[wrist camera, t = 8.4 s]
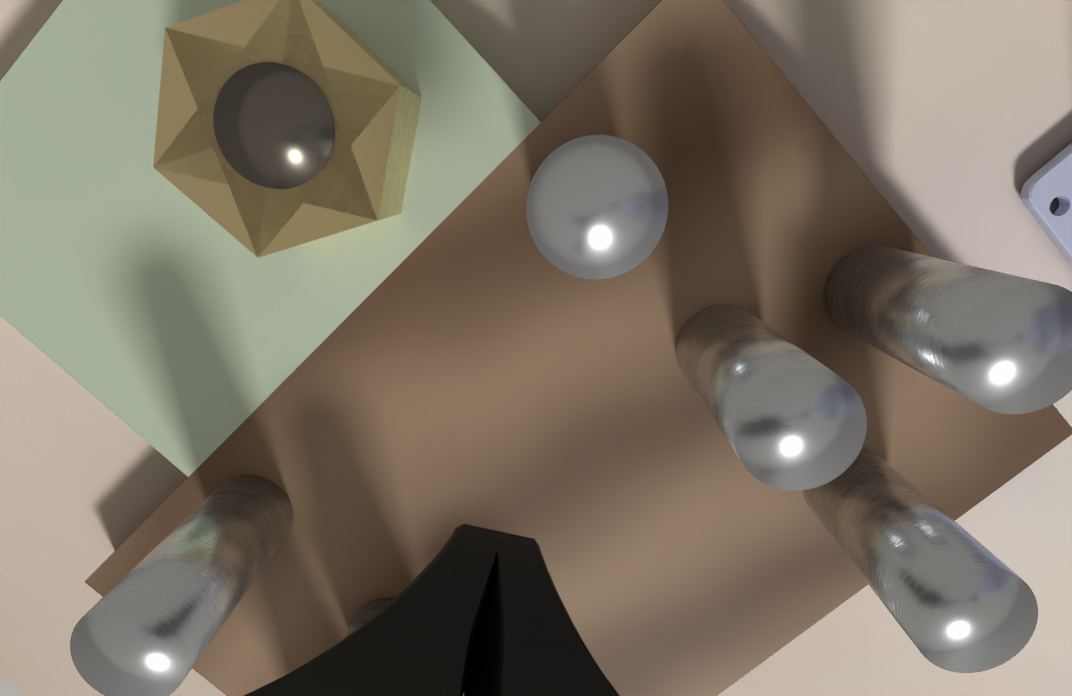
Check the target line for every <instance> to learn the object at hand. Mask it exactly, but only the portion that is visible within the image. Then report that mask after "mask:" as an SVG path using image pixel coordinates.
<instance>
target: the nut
mask: <svg viewBox="0 0 1072 696" xmlns="http://www.w3.org/2000/svg"><path fill="white" fill-rule="evenodd" d="M421 101H422V97H421V96H420V95H419V94H418V93H417V92H416V91H414V90H413V89H412V88H411V87H410V86H409V85H408V84H407V83H406V82H405V81H404V80H403V79H402V78H401V77H400V76H399V75H398V74H397V73H396V72H395V71H394V70H393V69H392V68H391V67H389V66H388V65H387V64H386V63H385V62H384V61H383V60H382V59H381V58H380V57H379V56H378V55H377V54H376V53H375V52H374V51H373V50H372V49H371V48H370V47H369V46H368V45H367V44H365V43H364V42H363V41H362V40H361V39H360V38H359V37H358V36H357V35H356V34H355V33H354V32H353V31H352V30H351V29H350V28H349V27H348V26H347V25H346V24H345V23H344V22H343V21H341V20H340V19H339V18H338V17H337V16H336V15H335V14H334V13H333V12H332V11H331V10H330V9H328V8H327V7H326V6H324V5H323V4H321V3H320V2H319V1H317V0H243V1H240V2H237V3H234V4H231V5H228V6H226V7H223V8H220V9H217V10H214V11H211V12H208V13H206V14H203V15H200V16H197V17H194V18H191V19H188V20H186V21H183V22H180V23H177V24H174V25H171V26H168V27H166V28H165V35H164V46H163V58H162V70H161V81H160V93H159V104H158V116H157V128H156V139H155V151H154V163H153V168H155V169H156V170H157V171H158V172H159V173H160V174H161V175H163V176H164V177H165V178H166V179H167V180H168V181H170V182H171V183H172V184H173V185H174V186H175V187H176V188H178V189H179V190H180V191H181V192H182V193H183V194H185V195H186V196H187V197H188V198H189V199H190V200H192V201H193V202H194V203H195V204H196V205H197V206H198V207H200V208H201V209H202V210H203V211H204V212H205V213H207V214H208V215H209V216H210V217H211V218H212V219H213V220H215V221H216V222H217V223H218V224H219V225H220V226H222V227H223V228H224V229H225V230H226V231H227V232H229V233H230V234H231V235H232V236H233V237H234V238H235V239H237V240H238V241H239V242H240V243H241V244H242V245H244V246H245V247H246V248H247V249H248V250H249V251H250V252H252V253H253V254H254V255H255V256H256V257H257V258H259V257H262V256H266V255H269V254H272V253H276V252H279V251H282V250H286V249H289V248H292V247H296V246H299V245H302V244H305V243H309V242H312V241H315V240H318V239H321V238H325V237H328V236H331V235H334V234H337V233H341V232H344V231H347V230H350V229H353V228H357V227H360V226H363V225H366V224H369V223H373V222H376V221H379V220H382V219H385V218H389V217H392V216H395V215H398V214H401V212H402V207H403V201H404V195H405V190H406V184H407V179H408V173H409V168H410V162H411V157H412V151H413V145H414V140H415V134H416V129H417V123H418V118H419V112H420V107H421Z"/></svg>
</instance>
